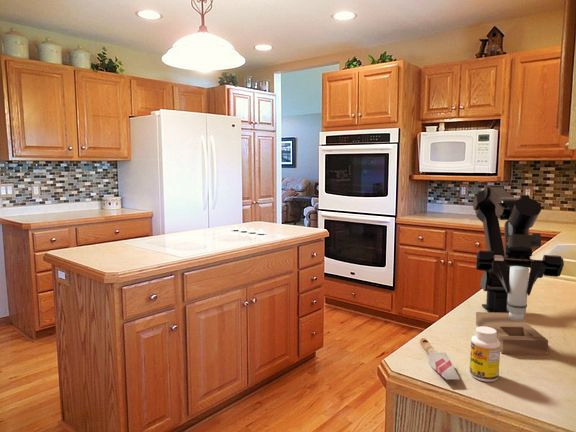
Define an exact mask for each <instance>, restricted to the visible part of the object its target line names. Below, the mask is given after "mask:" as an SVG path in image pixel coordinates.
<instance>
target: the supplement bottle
mask: <svg viewBox="0 0 576 432" xmlns="http://www.w3.org/2000/svg"><path fill="white" fill-rule="evenodd" d="M470 340H471V341H470V357H469V358H470V359H469V374H470V375H471V376H472V377H473V378H474V379H476V380H479V381H482V382H487V383H488V382H489V383H490V382H496V381H497V380H498V379H499V377H500V376H499V375H500V361H501V352H500V341H499V340H498V339H497V331H496V330H495V329H493V328H490V327H485V326H480V327H478V326H476V328H475V334H474V335H473V336H472V337H471V338H470Z"/></svg>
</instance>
